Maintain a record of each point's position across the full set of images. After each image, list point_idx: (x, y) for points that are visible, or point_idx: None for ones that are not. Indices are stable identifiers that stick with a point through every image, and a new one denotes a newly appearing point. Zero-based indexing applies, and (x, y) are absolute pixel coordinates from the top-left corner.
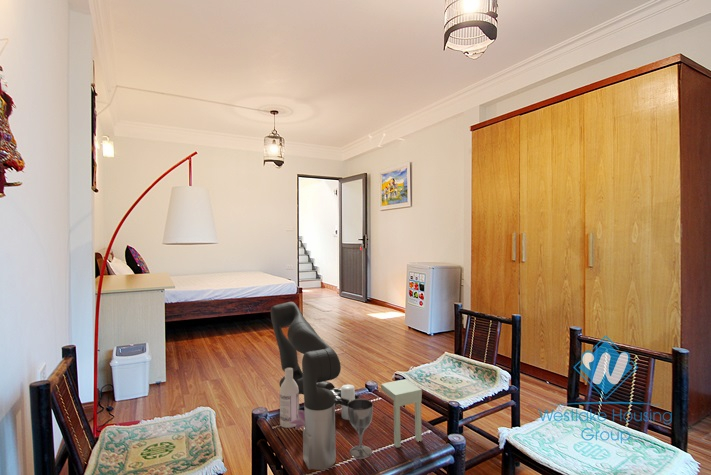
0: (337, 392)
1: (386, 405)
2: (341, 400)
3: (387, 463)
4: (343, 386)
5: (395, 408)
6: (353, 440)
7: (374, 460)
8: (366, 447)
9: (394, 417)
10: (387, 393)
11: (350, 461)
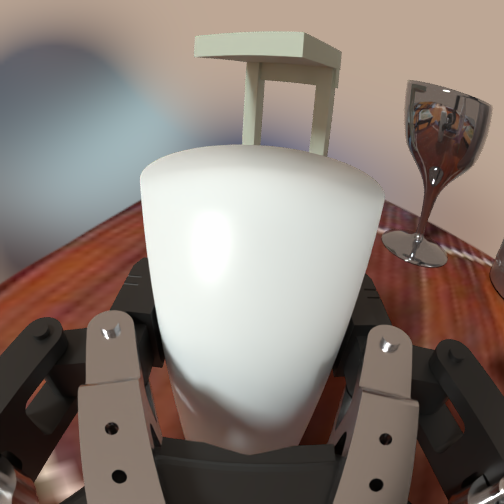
0: (233, 501)
1: (26, 294)
2: (377, 317)
3: (383, 206)
4: (287, 205)
5: (334, 92)
6: (403, 282)
7: (402, 221)
8: (393, 239)
9: (328, 123)
10: (323, 59)
11: (457, 249)
